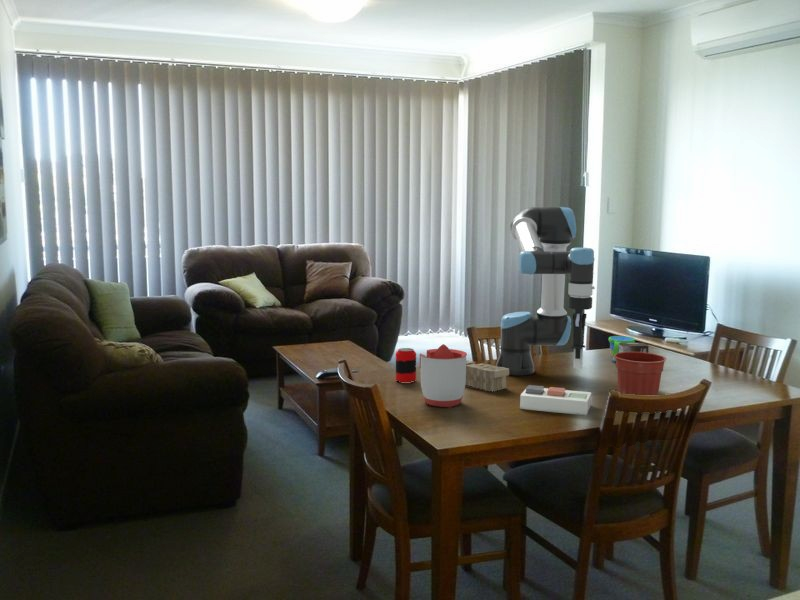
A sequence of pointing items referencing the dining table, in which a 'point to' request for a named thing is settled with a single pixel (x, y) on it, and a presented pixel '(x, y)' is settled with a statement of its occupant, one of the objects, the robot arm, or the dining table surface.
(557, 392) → the brick key
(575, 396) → the sage key
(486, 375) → the block tower
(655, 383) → the flower pot
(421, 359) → the citrus juicer
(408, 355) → the soda can
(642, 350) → the coffee box
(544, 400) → the key panel
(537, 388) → the charcoal key
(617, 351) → the snack cup
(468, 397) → the dining table surface
